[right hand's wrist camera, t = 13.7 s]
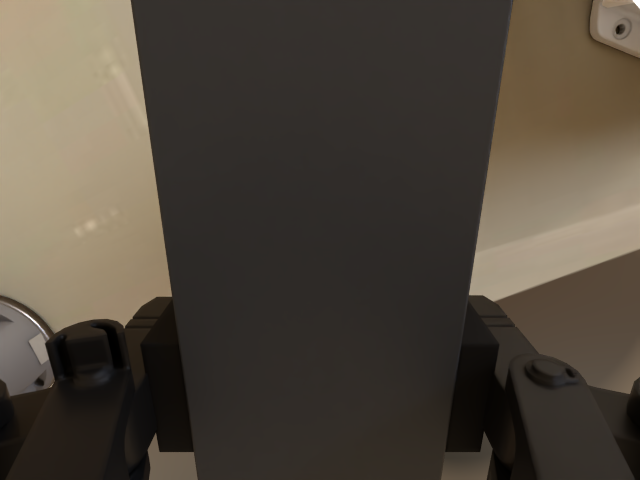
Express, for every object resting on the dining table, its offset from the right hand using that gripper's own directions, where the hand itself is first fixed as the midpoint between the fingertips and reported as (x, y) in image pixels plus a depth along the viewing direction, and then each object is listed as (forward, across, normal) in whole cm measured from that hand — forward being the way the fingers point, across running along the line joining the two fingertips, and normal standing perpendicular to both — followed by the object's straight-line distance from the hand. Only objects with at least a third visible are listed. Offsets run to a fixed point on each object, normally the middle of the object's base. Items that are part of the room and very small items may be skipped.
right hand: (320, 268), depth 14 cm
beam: (+1, 0, -26) cm, 26 cm away
